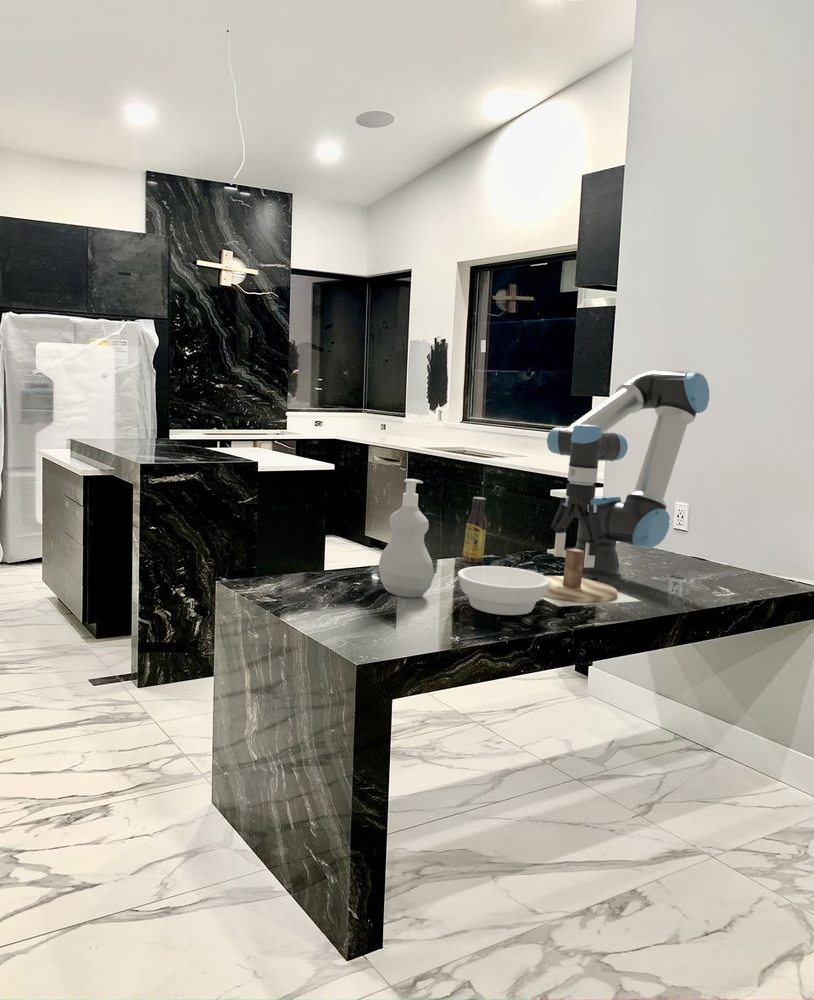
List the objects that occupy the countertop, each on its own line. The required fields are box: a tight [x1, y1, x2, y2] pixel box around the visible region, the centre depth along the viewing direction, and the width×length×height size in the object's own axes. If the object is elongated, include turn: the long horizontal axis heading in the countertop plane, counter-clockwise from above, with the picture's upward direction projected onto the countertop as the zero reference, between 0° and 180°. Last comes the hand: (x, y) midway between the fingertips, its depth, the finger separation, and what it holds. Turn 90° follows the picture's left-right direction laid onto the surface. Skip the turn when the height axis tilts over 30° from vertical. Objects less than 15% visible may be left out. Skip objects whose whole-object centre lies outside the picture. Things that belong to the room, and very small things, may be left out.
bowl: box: [457, 565, 550, 616], centre depth 211 cm, size 22×22×8 cm
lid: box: [544, 548, 618, 603], centre depth 232 cm, size 24×24×11 cm
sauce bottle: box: [462, 496, 488, 564], centre depth 263 cm, size 7×6×20 cm
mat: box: [542, 591, 641, 608], centre depth 232 cm, size 26×26×1 cm
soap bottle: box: [378, 478, 435, 598], centre depth 218 cm, size 17×12×29 cm
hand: (573, 561), depth 231 cm, fingers open, 13 cm apart
